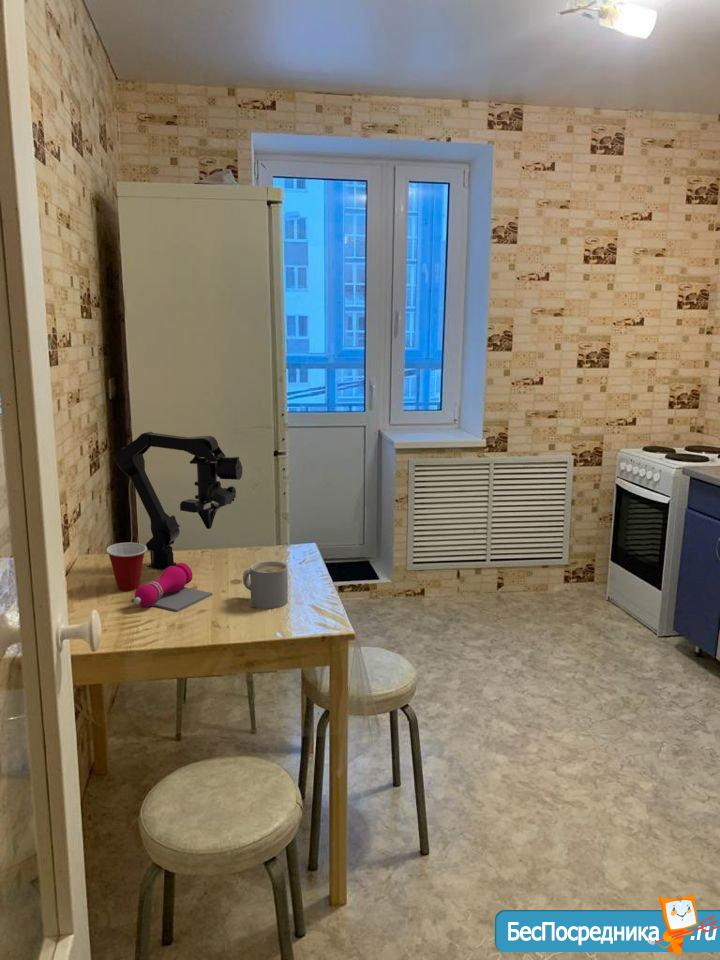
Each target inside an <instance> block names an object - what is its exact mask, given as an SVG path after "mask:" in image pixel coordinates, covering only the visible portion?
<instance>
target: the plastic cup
mask: <svg viewBox="0 0 720 960" xmlns="http://www.w3.org/2000/svg"><path fill="white" fill-rule="evenodd" d="M146 551H148V549H147V546H146V544H143V543H139V542H133V541H132V542H131V541H130V542H119V543H113V544H112V545H109V546H108V547H107V548H106V553H107V555H108V556H109V560H110V562H111V566H112V567H111V568H112V572H113V574H114V575H113V576H114V579H115V582H116V587H117V589H118V590H119V591H122V592H129V591H130V592H131V591H136V589H137V588H138V587H139V586H141V585H140V584H141V577H142V570H143V562H144V557H145V553H146Z"/></svg>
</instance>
